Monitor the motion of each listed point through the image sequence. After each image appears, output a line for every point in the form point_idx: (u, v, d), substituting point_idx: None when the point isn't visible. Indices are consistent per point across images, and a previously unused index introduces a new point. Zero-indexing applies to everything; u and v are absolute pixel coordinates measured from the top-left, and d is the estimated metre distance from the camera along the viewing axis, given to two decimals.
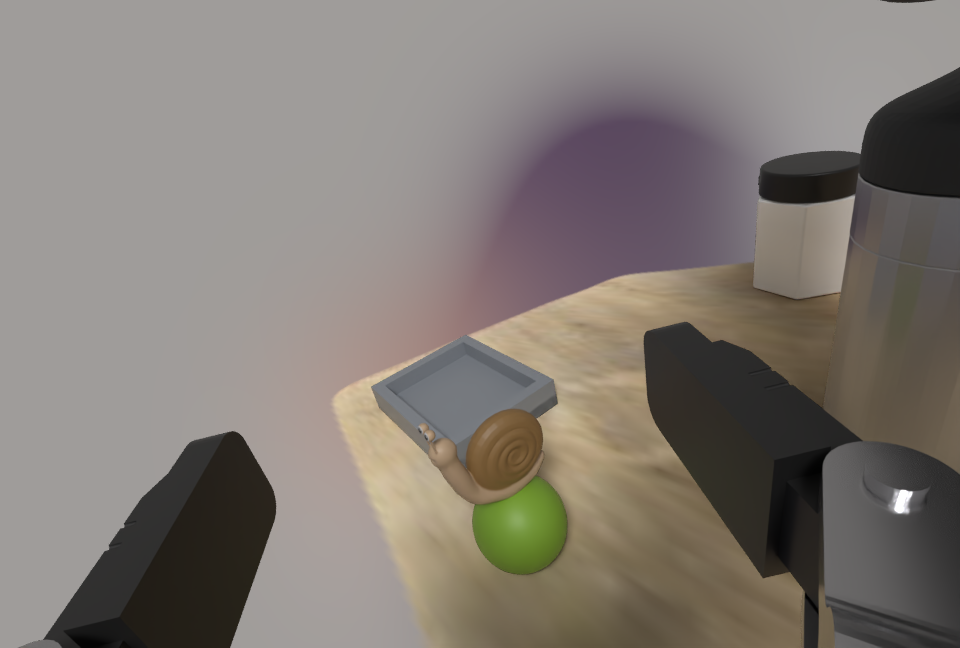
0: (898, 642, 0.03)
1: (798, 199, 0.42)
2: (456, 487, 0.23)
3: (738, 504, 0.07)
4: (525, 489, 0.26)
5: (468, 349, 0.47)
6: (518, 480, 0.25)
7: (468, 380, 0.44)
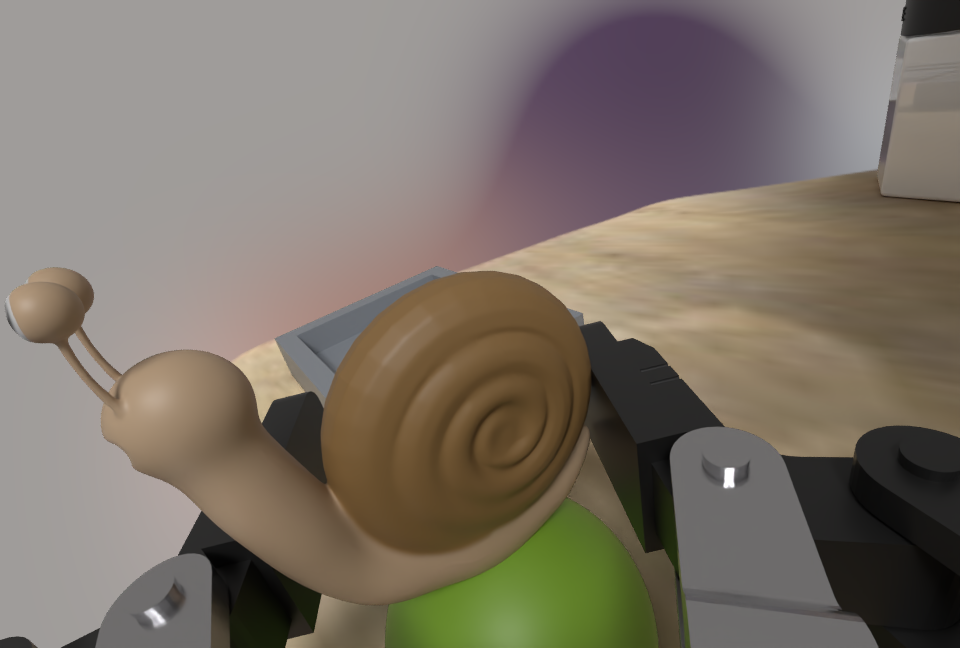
0: (737, 612, 0.04)
1: None
2: (265, 557, 0.06)
3: (626, 486, 0.07)
4: (536, 544, 0.08)
5: None
6: (515, 516, 0.08)
7: None
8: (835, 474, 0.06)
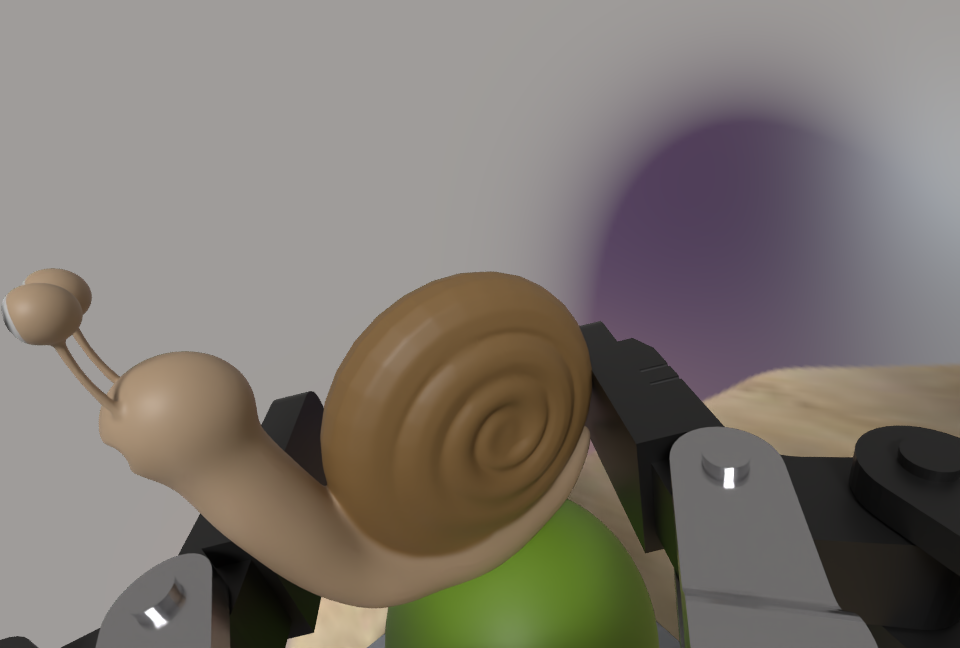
0: (737, 612, 0.04)
1: None
2: (264, 560, 0.06)
3: (626, 486, 0.07)
4: (537, 546, 0.08)
5: None
6: (516, 518, 0.08)
7: None
8: (835, 474, 0.06)
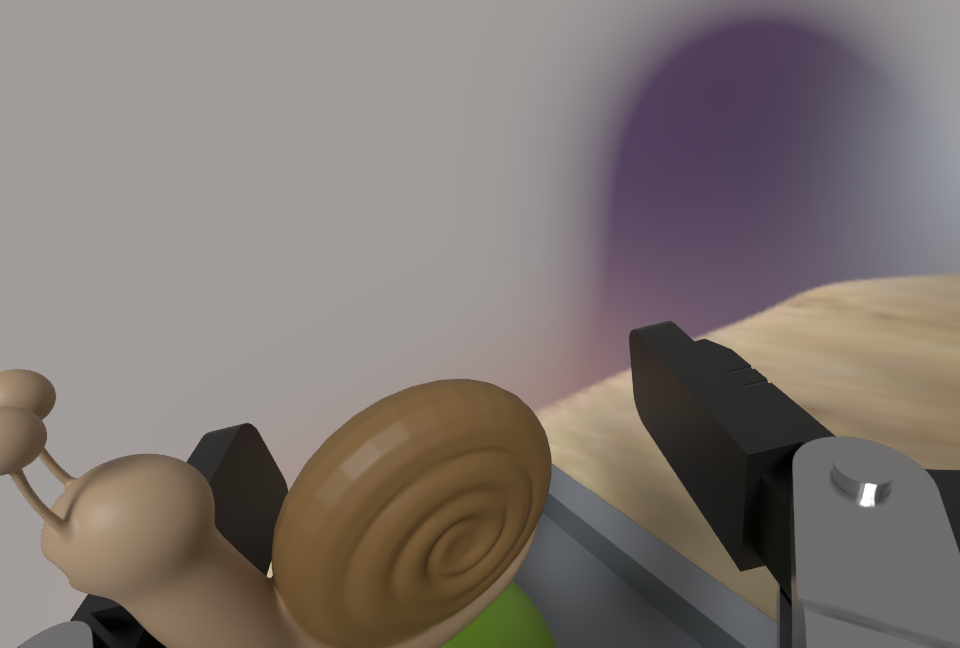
0: (865, 633, 0.03)
1: None
2: None
3: (716, 499, 0.07)
4: (469, 634, 0.08)
5: None
6: (455, 613, 0.08)
7: (552, 632, 0.13)
8: None
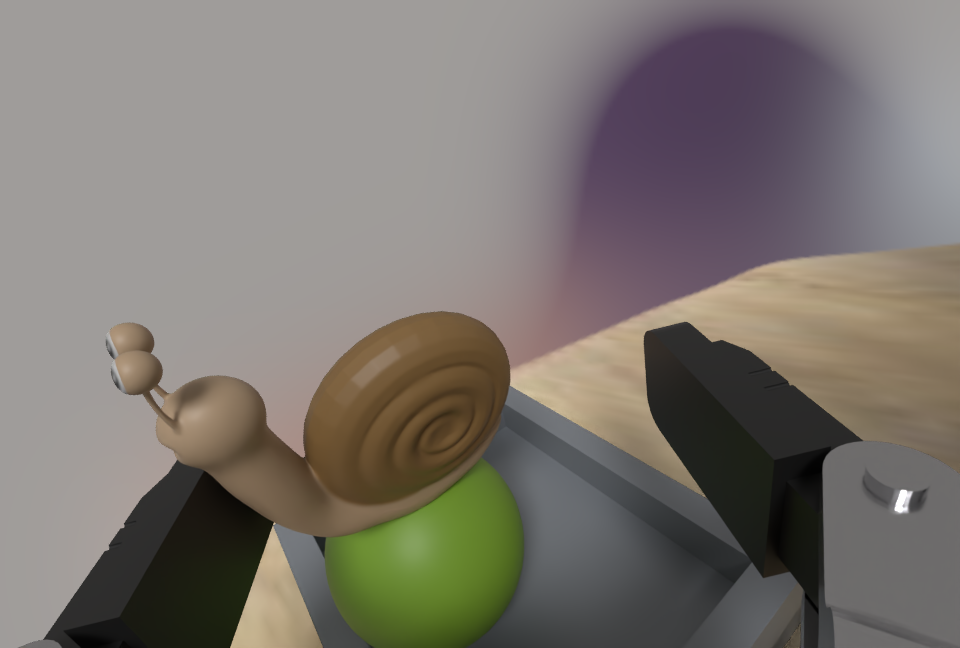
0: (896, 641, 0.03)
1: None
2: (261, 512, 0.08)
3: (738, 504, 0.07)
4: (450, 494, 0.11)
5: (512, 418, 0.21)
6: (438, 479, 0.11)
7: (519, 509, 0.17)
8: None
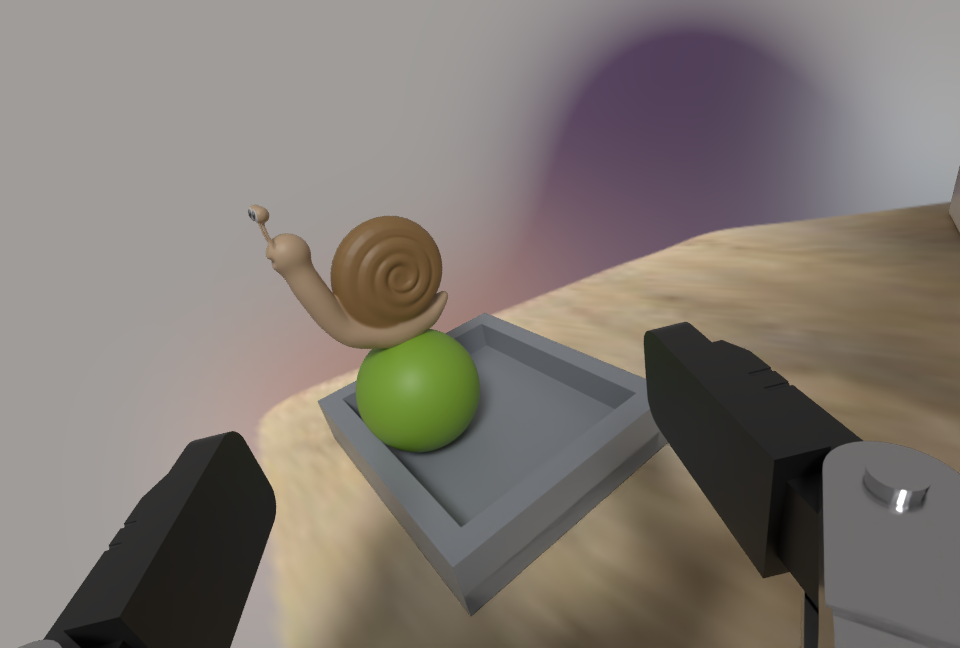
0: (896, 642, 0.03)
1: None
2: (312, 309, 0.17)
3: (738, 504, 0.07)
4: (420, 337, 0.20)
5: (490, 336, 0.28)
6: (409, 319, 0.19)
7: (493, 390, 0.24)
8: None
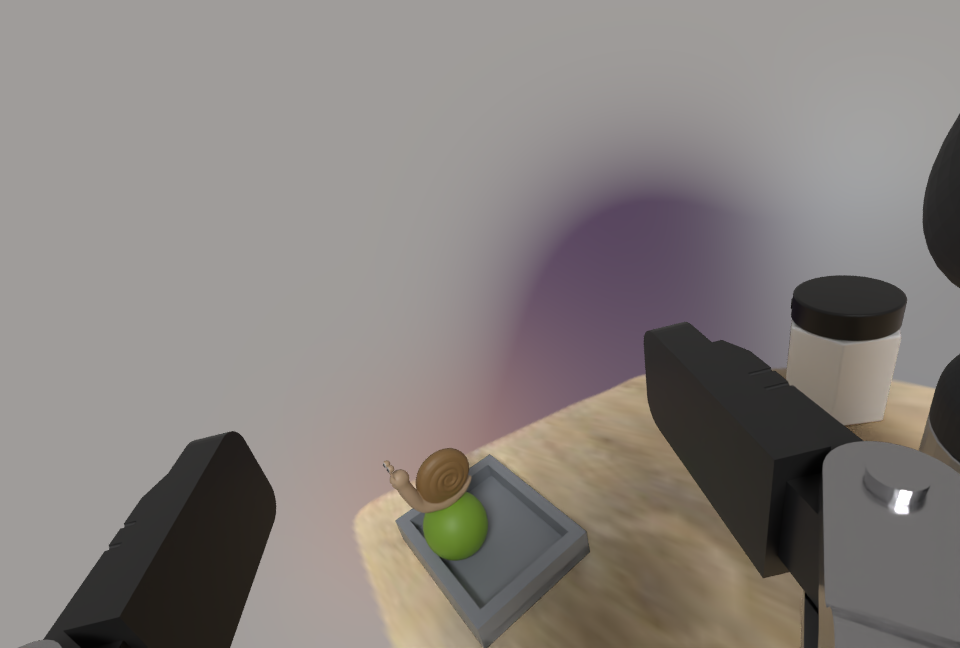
0: (896, 641, 0.03)
1: (835, 336, 0.41)
2: (408, 501, 0.35)
3: (738, 504, 0.07)
4: (457, 502, 0.38)
5: (493, 473, 0.46)
6: (452, 496, 0.38)
7: (495, 514, 0.43)
8: None
